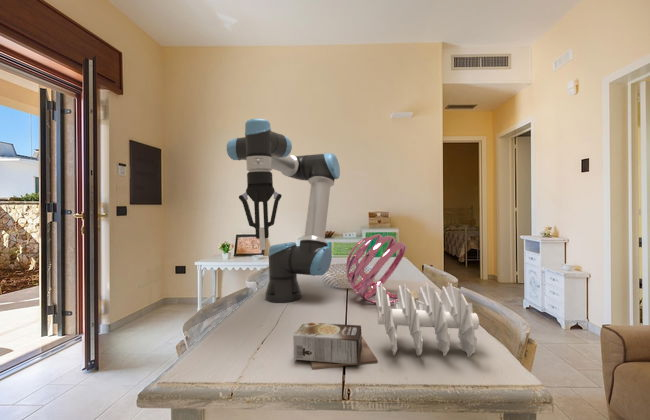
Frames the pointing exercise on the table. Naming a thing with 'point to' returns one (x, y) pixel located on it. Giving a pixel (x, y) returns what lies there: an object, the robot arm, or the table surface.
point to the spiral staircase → (429, 316)
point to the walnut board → (365, 358)
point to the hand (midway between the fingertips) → (262, 249)
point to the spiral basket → (367, 259)
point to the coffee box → (328, 343)
